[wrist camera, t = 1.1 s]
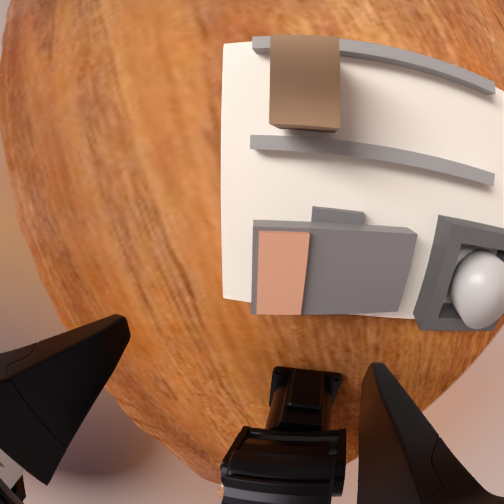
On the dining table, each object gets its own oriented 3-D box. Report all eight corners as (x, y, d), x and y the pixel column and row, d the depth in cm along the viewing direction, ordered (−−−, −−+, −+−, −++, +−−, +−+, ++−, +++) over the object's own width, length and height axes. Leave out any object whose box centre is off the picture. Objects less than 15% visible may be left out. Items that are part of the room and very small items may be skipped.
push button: (485, 311, 13) (498, 328, 11) (439, 309, 14) (451, 328, 12) (506, 253, 12) (523, 266, 10) (459, 245, 12) (476, 259, 10)
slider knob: (334, 133, 13) (339, 128, 10) (279, 129, 14) (268, 123, 11) (335, 60, 12) (338, 37, 8) (281, 57, 12) (270, 34, 9)
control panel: (481, 305, 17) (502, 335, 13) (233, 281, 21) (213, 313, 17) (514, 108, 10) (548, 107, 6) (235, 55, 15) (211, 33, 11)
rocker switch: (390, 301, 16) (399, 314, 14) (251, 302, 16) (250, 317, 15) (407, 227, 14) (420, 236, 13) (253, 219, 14) (252, 228, 13)
